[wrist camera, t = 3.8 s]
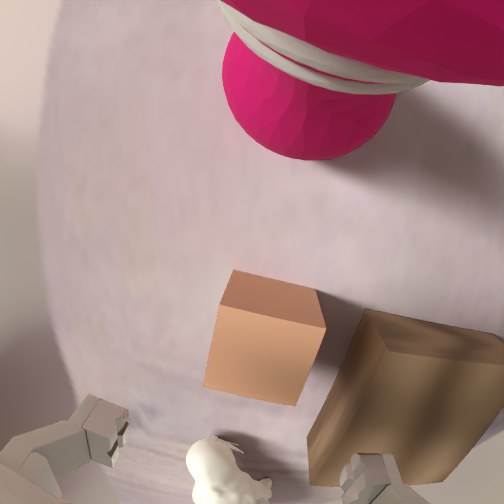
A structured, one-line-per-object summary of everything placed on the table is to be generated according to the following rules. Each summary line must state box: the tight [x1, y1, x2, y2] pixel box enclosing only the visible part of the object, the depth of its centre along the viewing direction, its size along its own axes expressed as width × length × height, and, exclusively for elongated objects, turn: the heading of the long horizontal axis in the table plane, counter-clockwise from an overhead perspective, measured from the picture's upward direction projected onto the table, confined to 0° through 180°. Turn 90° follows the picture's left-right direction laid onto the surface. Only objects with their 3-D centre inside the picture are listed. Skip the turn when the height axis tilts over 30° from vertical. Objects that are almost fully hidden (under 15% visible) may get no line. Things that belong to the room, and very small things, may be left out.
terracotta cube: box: [203, 270, 326, 406], centre depth 17 cm, size 5×5×5 cm
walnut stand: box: [307, 309, 504, 487], centre depth 18 cm, size 12×12×5 cm
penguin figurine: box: [186, 435, 272, 504], centre depth 20 cm, size 6×8×12 cm
